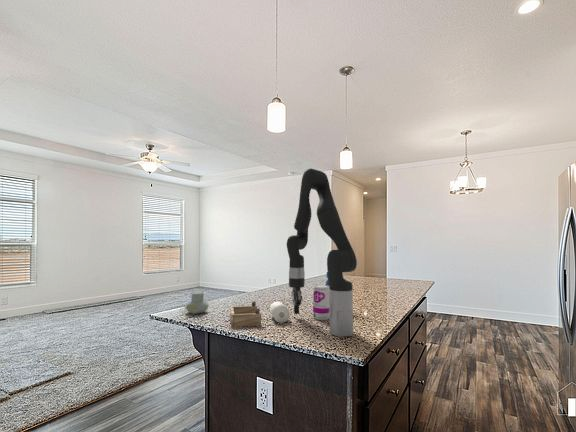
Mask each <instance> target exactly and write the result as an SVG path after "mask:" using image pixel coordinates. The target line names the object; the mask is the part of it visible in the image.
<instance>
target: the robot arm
mask: <svg viewBox="0 0 576 432" xmlns="http://www.w3.org/2000/svg"><path fill="white" fill-rule="evenodd" d="M301 177H302V178H301V184H300V189H299V190H300V193H299V202H298V203H299V204H298V209H297V213H296V216H295V220H294V224H293V228H294V230H295V231H296V234H295V235H290V236H288V238H287V241H286V250H287V254H288V257H289V269H288V287H289V288H292V290H291V297H292V298H291V300H292V305H293V313H294V315H299V314H300V306H301V305H302V300H303V296H302V291H301V289H302V288H304V287H305V282H306V281H305V276H306V275H305V274H306V273H305V257H304V255H302V254H300V250H304V249H305V248H306V247H307V245H308V242H309V227H310V224H311V220H312V208H311V204H310V201H311V200H310V195H311V191H312V190H314V191H316V193H317V196H318V201H319V202H318V205H317V209H316V216H317V217H316V218H317V220H318V223H319V226H320V228H321V230H322V231H323V232H324V233H325V234H326V235H327V236H328V237H329V238H330V239H331V240H332V242H333V244H335V246H336V249H331V250H330V251H329V252H328V255H327V258H326V268H327V269H326V270H327V272H328V278H327V280H328V282H329V287H330V318H329V334H330V335H332V336H335V337H336V336H337V337H338V338H340V337H341V338H342V337H353V336H354V299H353V297H354V295H353V293H354V292H353V291H354V289H353V282H351V281H349V280H346V279H345V278H344V275H343V273H351V272H352V273H353V272H354V271H355V270H356V268H357V266H358V264H357V263H358V261H357V256H356V253H355V251H354V248H353V246H352V245H351V243H350V241H349V239H348V236H347V234H346V232H345V229H344V227H343V224H342V220H341V217H340V214H339V211H338V209H337V207H336V204H335V200H334V197H333V195H332V192H331V191H332V190H331V186H330V182H329V178H328V175H327V174H326V173H325V172H324V171H321V170H319V169H315V168H307V169H306V170H304V172H303V174H302V176H301Z"/></svg>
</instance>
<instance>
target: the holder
mask: <svg viewBox="0 0 576 432" xmlns="http://www.w3.org/2000/svg"><path fill="white" fill-rule="evenodd" d="M256 303H257V302H256V301H251V305H238V306H230V309H229V310H230V311H229V312H230V313H229V314H230V315H229V317H230V319H231V320H230V326H231V328H236V327H237V328H238V327H239V326H240V327H255V326H262V312H260V308H258V305H256Z"/></svg>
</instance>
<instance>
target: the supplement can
mask: <svg viewBox="0 0 576 432" xmlns="http://www.w3.org/2000/svg"><path fill="white" fill-rule="evenodd" d="M312 301H313V302H312V311H313V312H312V316H313V318H314V319H315V320H317V321H328V320H330V288H329V286H326V285H321V284H320V285H314V286H313V289H312Z"/></svg>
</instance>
